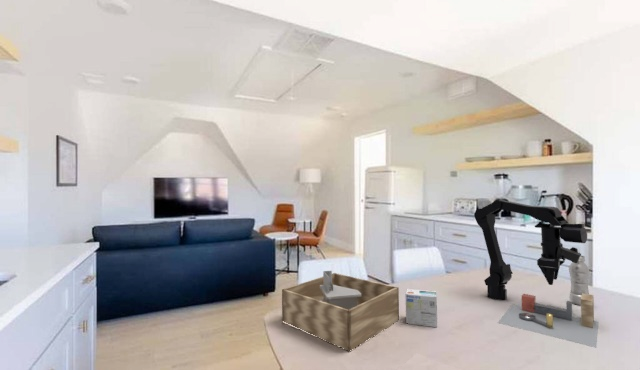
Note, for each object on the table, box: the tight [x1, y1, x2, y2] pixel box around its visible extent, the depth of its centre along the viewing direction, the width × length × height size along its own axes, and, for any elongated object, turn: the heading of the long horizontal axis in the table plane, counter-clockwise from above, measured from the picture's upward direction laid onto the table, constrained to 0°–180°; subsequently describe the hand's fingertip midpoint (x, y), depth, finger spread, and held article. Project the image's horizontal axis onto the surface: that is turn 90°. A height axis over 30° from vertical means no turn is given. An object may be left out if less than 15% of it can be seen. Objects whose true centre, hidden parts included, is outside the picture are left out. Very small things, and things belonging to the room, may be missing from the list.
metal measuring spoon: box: [519, 313, 553, 328], centre depth 110 cm, size 5×11×4 cm, turn 19°
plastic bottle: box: [568, 255, 590, 307], centre depth 127 cm, size 6×7×20 cm
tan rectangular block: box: [580, 293, 595, 328], centre depth 109 cm, size 3×8×9 cm, turn 137°
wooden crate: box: [281, 272, 400, 352], centre depth 114 cm, size 31×30×12 cm
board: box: [497, 303, 599, 349], centre depth 110 cm, size 26×24×1 cm
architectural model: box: [320, 270, 361, 310], centre depth 113 cm, size 23×24×18 cm
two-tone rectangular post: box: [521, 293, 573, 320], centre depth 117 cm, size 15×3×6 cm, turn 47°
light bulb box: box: [405, 288, 438, 328], centre depth 113 cm, size 11×7×11 cm, turn 71°
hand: (552, 282), depth 118 cm, fingers open, 9 cm apart
